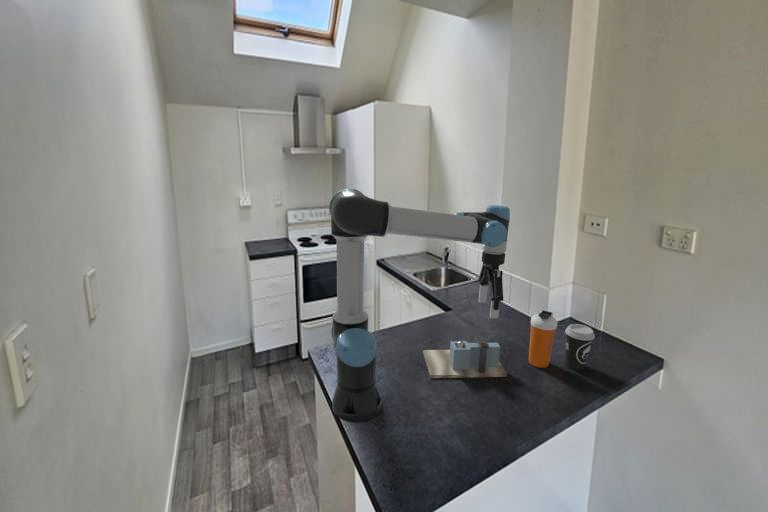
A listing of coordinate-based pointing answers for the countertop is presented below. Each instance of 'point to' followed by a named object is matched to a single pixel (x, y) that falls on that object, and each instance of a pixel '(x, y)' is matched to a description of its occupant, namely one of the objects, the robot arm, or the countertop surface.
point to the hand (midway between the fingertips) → (487, 309)
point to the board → (443, 369)
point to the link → (472, 355)
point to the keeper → (482, 352)
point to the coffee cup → (577, 345)
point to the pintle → (460, 344)
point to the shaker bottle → (541, 338)
